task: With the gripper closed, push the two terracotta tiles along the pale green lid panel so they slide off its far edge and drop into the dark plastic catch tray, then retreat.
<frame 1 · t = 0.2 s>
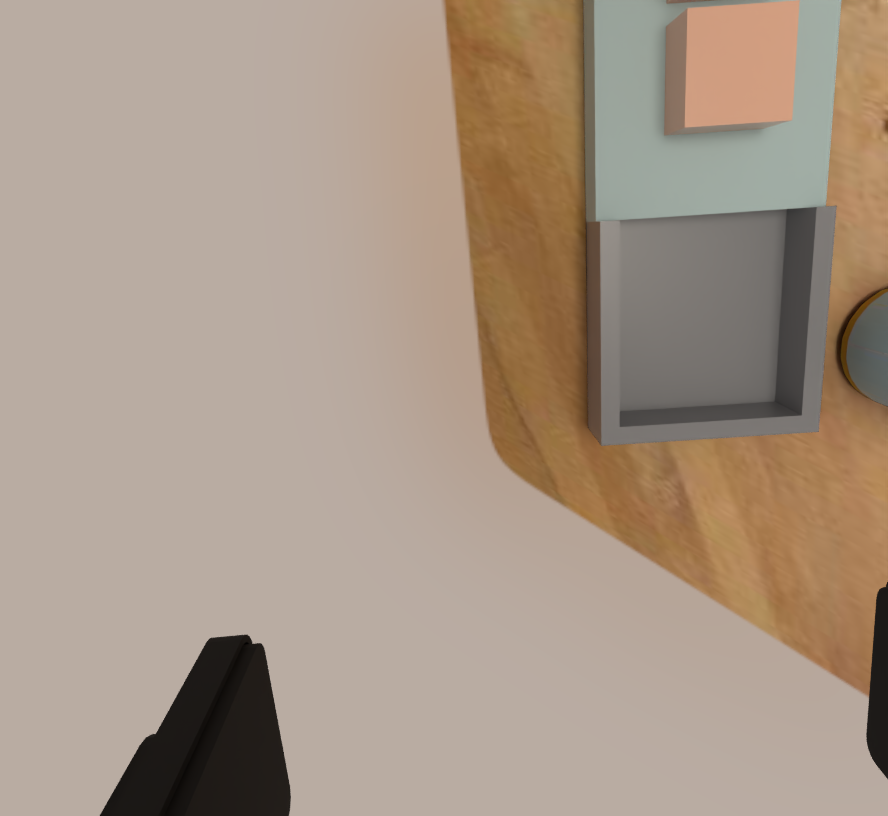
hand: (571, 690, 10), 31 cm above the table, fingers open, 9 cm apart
tray: (690, 321, 40), on the table
pale green lid panel: (699, 15, 36), on the table
tile b: (715, 78, 34), point 2 cm above the table, touching pale green lid panel
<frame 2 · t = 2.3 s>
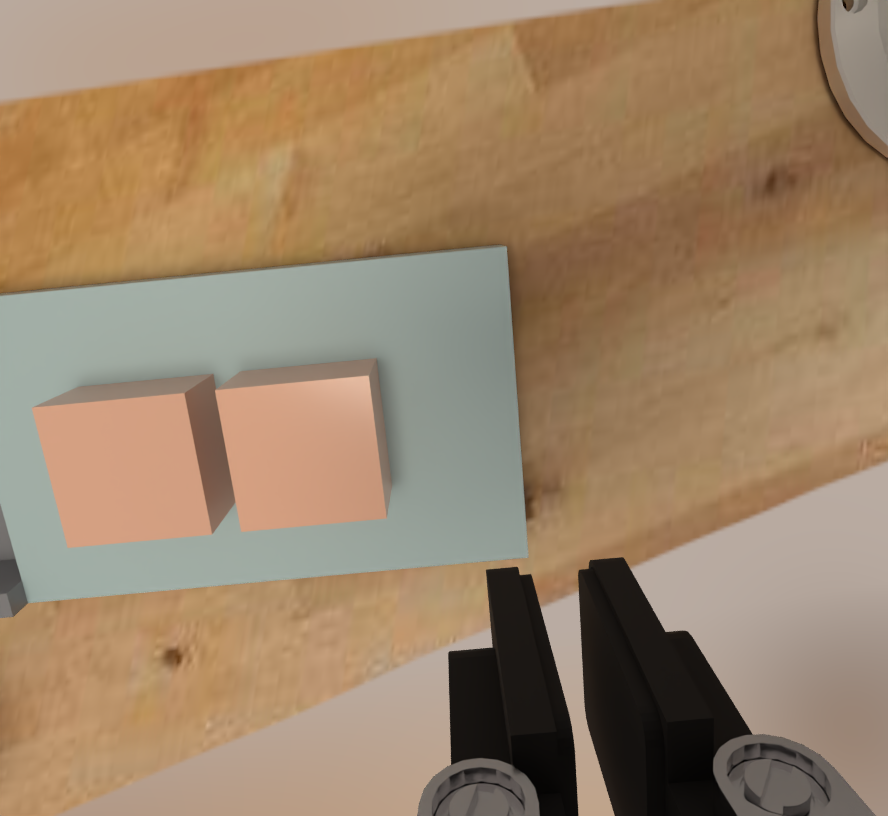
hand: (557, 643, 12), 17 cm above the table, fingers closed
pale green lid panel: (267, 418, 28), on the table
tile b: (159, 445, 26), point 2 cm above the table, touching pale green lid panel
tile a: (318, 430, 26), point 2 cm above the table, touching pale green lid panel
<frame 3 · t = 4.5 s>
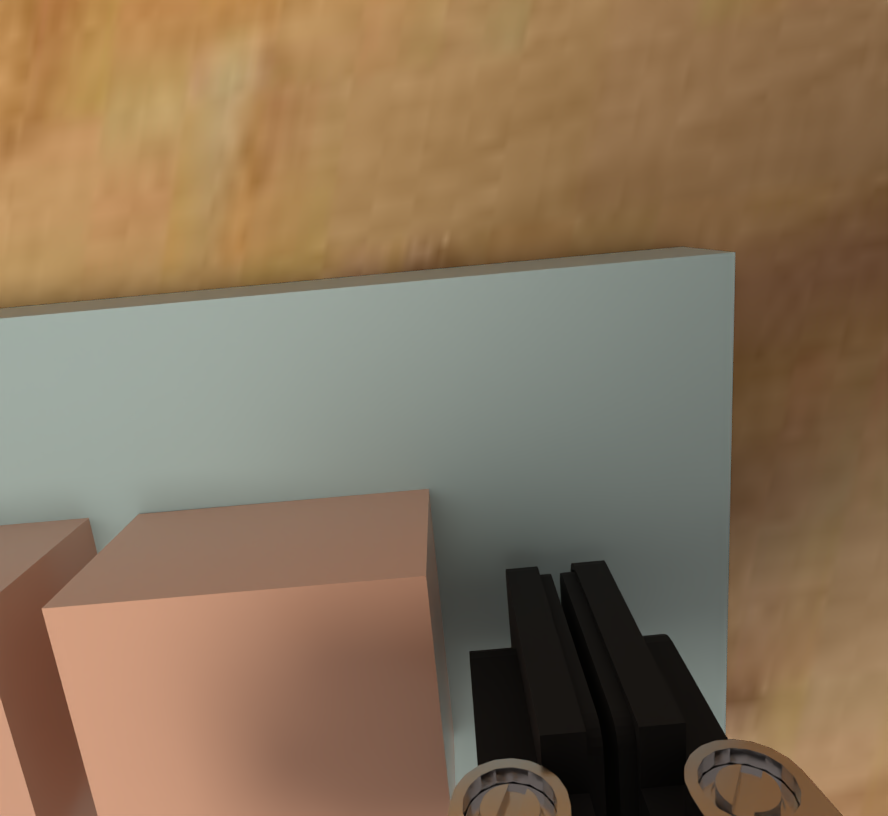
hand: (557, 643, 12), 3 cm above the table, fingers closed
pale green lid panel: (217, 572, 15), on the table
tile a: (304, 629, 12), point 3 cm above the table, touching gripper
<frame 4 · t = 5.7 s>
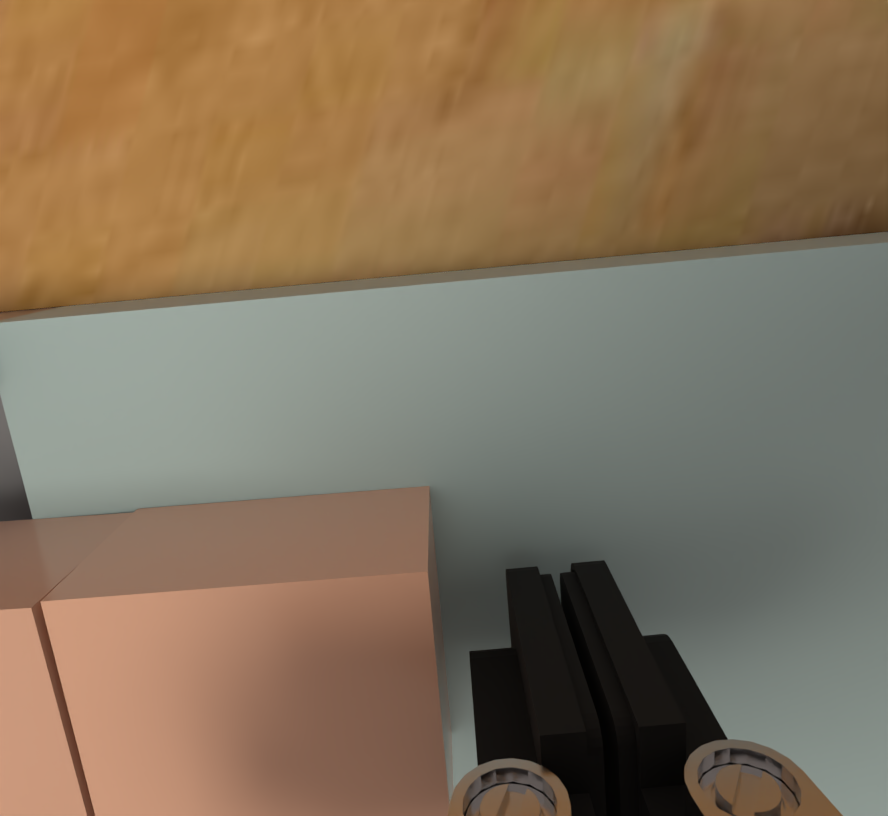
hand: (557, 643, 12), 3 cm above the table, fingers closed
pale green lid panel: (589, 544, 15), on the table
tile b: (29, 648, 13), point 2 cm above the table, touching pale green lid panel, tile a
tile a: (302, 626, 12), point 3 cm above the table, touching gripper, tile b
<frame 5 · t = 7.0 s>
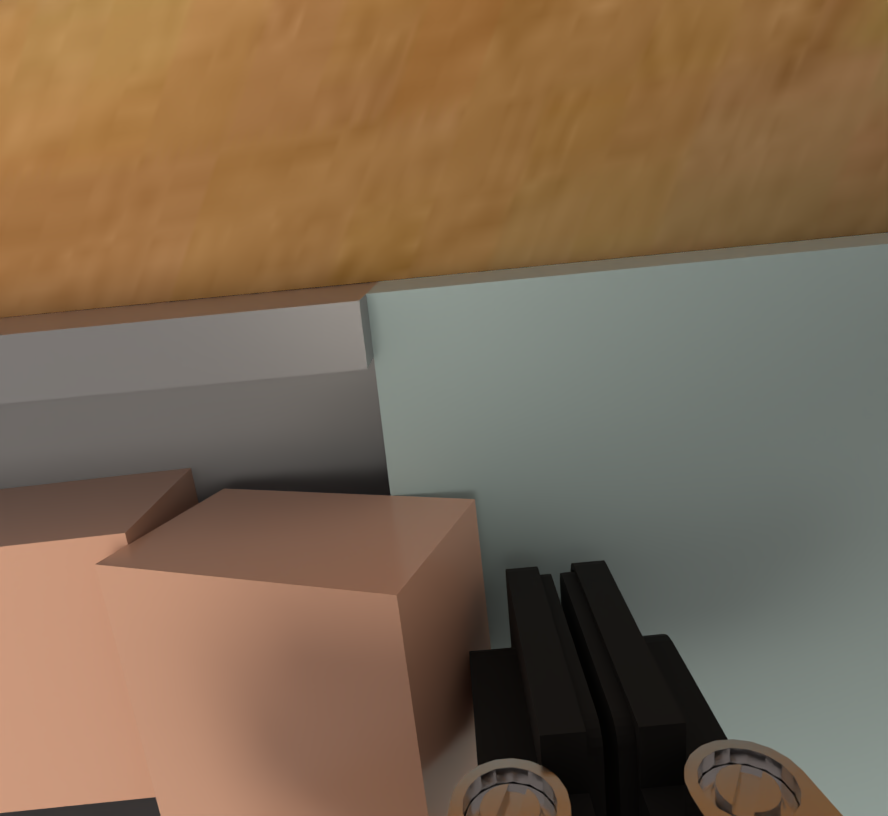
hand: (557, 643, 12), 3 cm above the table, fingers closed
tray: (134, 589, 15), on the table
pale green lid panel: (882, 522, 15), on the table
tile b: (97, 593, 14), resting on tray, touching tile a
tile a: (359, 620, 13), point 2 cm above the table, tilted 22°, touching pale green lid panel, tile b
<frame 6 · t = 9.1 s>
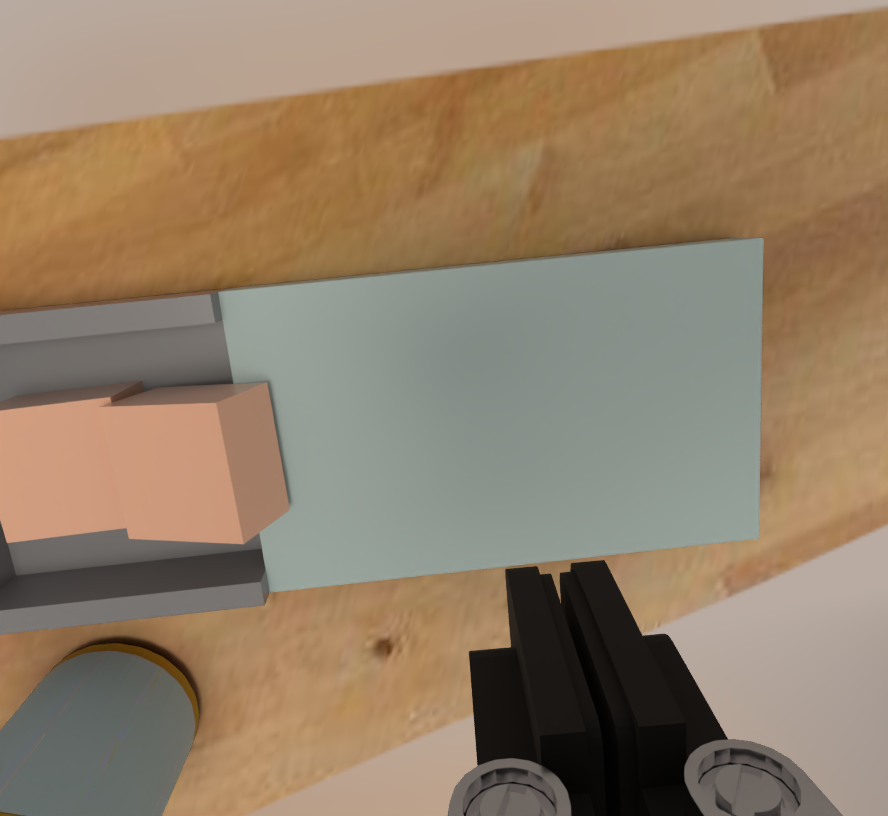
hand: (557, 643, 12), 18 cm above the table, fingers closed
bottle: (126, 700, 32), on the table
tray: (114, 447, 29), on the table
pale green lid panel: (497, 407, 29), on the table
tile b: (93, 447, 28), resting on tray, touching tile a
tile a: (223, 448, 27), point 2 cm above the table, tilted 22°, touching pale green lid panel, tile b
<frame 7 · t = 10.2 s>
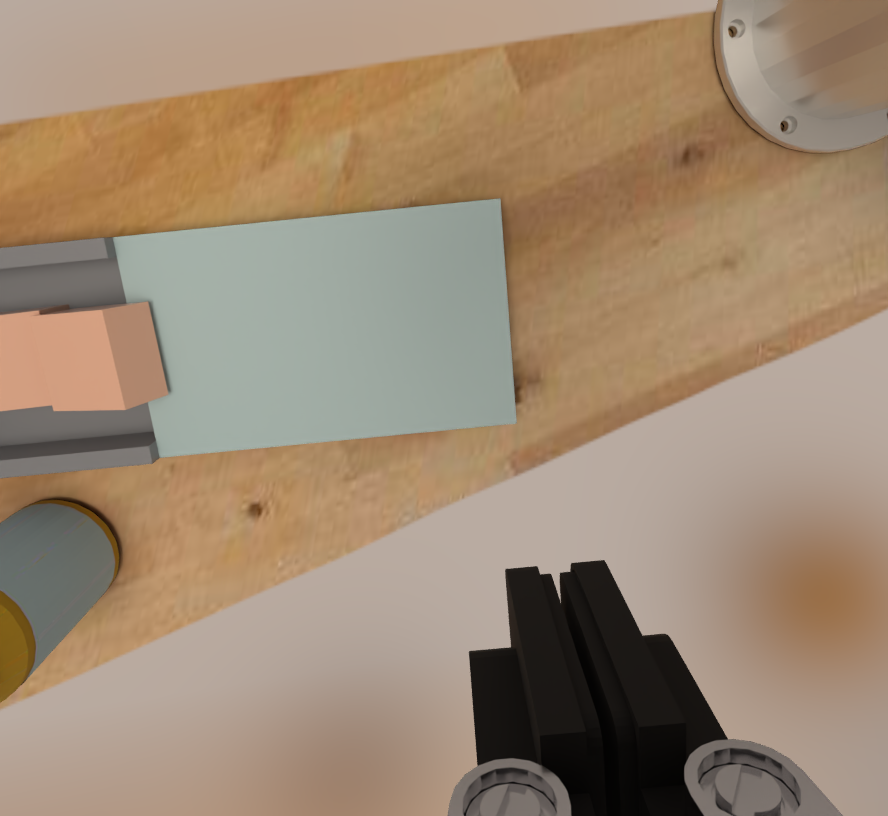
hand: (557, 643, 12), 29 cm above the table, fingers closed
bottle: (68, 546, 43), on the table
tray: (51, 354, 40), on the table
pale green lid panel: (329, 327, 39), on the table
tile b: (36, 353, 39), resting on tray, touching tile a
tile a: (122, 350, 37), point 2 cm above the table, tilted 22°, touching pale green lid panel, tile b
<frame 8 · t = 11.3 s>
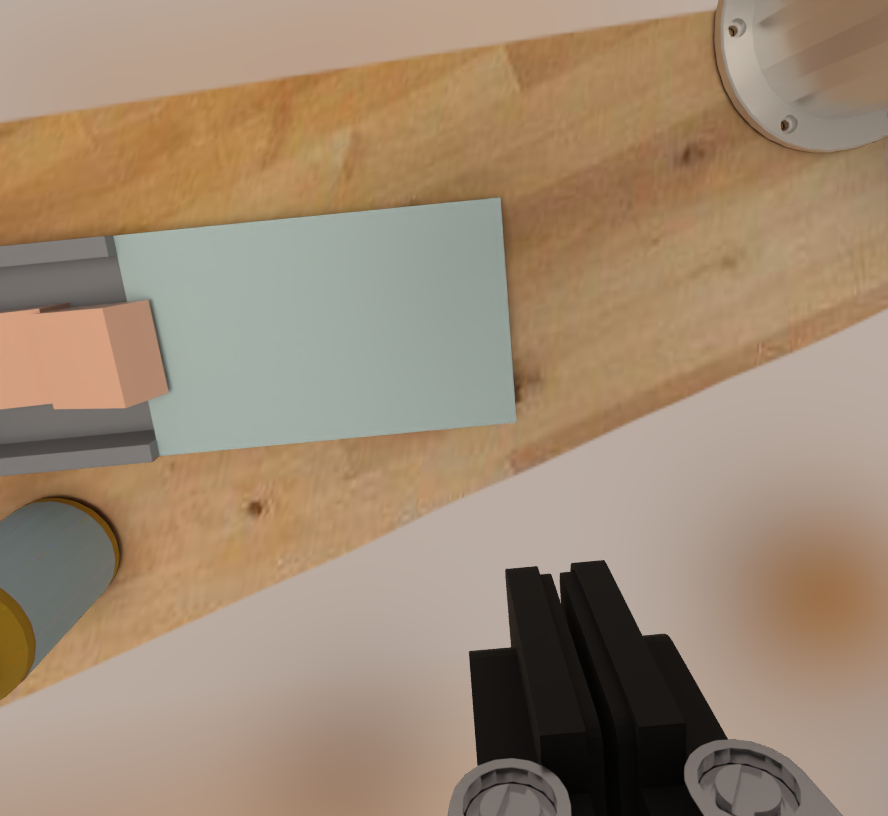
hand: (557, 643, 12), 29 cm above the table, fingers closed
bottle: (68, 545, 43), on the table
tray: (52, 352, 40), on the table
pale green lid panel: (329, 325, 39), on the table
tile b: (36, 351, 39), resting on tray, touching tile a
tile a: (123, 349, 37), point 2 cm above the table, tilted 22°, touching pale green lid panel, tile b
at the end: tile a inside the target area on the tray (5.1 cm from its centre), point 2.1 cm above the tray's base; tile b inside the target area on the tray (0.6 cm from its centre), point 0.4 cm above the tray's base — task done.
